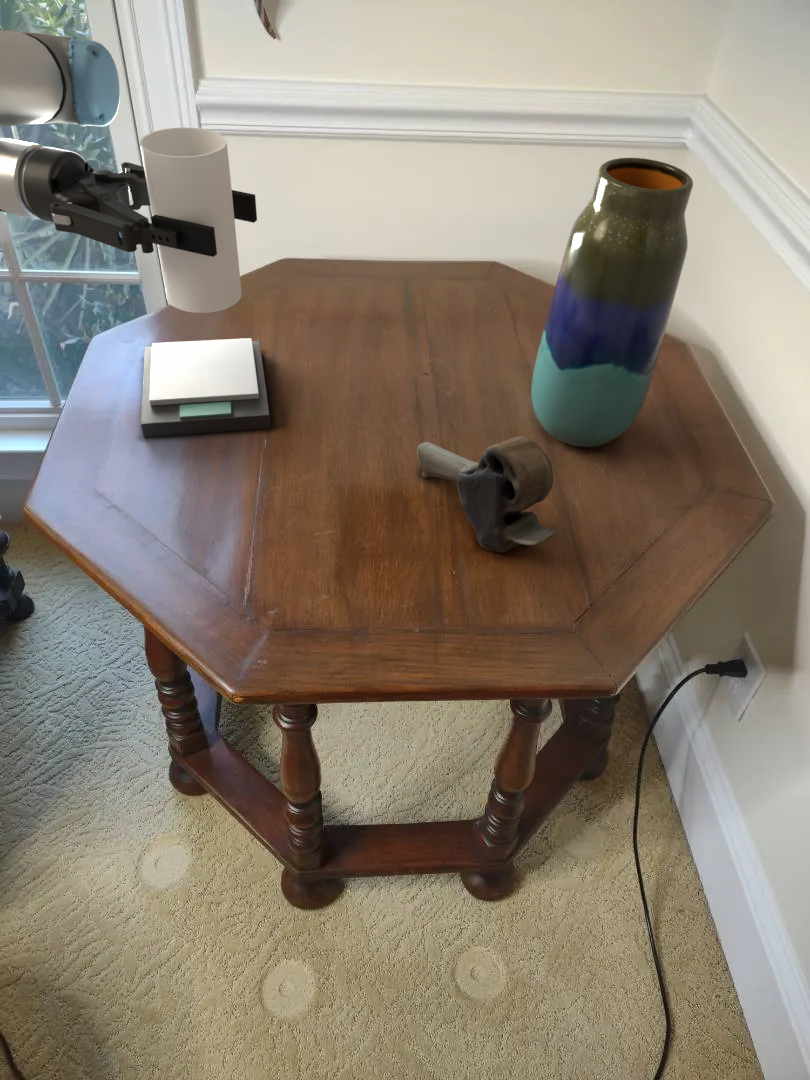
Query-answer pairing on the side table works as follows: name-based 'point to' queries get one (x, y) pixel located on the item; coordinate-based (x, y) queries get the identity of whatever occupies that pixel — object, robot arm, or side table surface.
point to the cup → (194, 215)
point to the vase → (612, 302)
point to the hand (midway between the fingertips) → (234, 224)
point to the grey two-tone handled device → (497, 489)
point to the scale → (203, 387)
